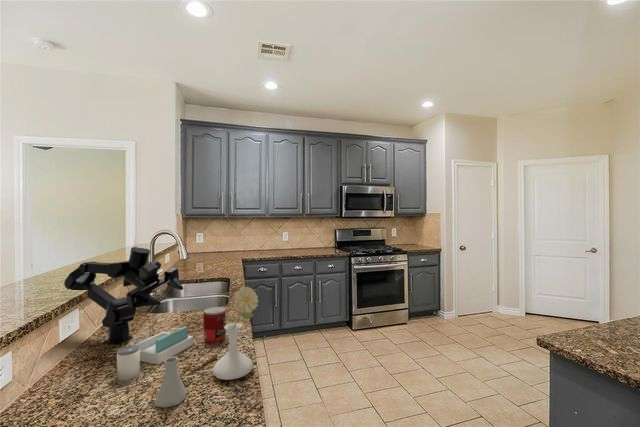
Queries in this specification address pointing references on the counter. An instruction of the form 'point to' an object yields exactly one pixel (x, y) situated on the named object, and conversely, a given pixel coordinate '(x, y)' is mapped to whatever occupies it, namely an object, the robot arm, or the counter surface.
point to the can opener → (206, 363)
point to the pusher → (171, 339)
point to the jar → (128, 362)
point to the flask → (171, 386)
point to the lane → (151, 356)
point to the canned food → (214, 324)
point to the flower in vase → (235, 361)
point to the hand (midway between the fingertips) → (171, 295)
